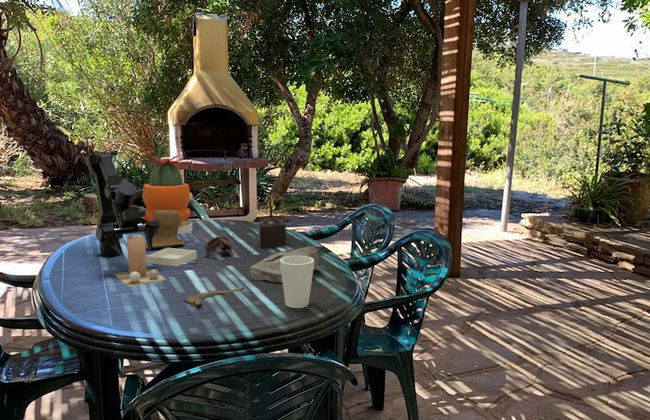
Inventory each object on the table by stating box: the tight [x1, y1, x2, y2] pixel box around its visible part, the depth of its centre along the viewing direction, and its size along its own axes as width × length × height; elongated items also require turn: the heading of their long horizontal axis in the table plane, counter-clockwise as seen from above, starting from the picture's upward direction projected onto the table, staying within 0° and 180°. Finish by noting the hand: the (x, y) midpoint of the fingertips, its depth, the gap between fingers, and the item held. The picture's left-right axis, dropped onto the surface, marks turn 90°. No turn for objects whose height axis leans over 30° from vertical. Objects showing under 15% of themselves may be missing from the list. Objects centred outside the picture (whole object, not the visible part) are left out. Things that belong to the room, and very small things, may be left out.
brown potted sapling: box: [257, 198, 287, 249], centre depth 207 cm, size 16×11×18 cm
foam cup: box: [280, 256, 315, 309], centre depth 138 cm, size 10×9×13 cm
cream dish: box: [146, 247, 198, 267], centre depth 181 cm, size 13×13×3 cm
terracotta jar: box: [126, 233, 147, 277], centre depth 162 cm, size 5×5×14 cm
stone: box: [249, 245, 320, 284], centre depth 167 cm, size 18×10×20 cm
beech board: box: [113, 267, 168, 288], centre depth 161 cm, size 16×12×1 cm
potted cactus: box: [142, 154, 193, 235], centre depth 225 cm, size 22×22×35 cm
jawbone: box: [183, 286, 245, 307], centre depth 146 cm, size 9×20×2 cm, turn 149°
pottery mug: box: [204, 235, 234, 258], centre depth 190 cm, size 12×10×8 cm
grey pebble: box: [149, 269, 160, 279], centre depth 159 cm, size 3×3×3 cm
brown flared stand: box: [145, 210, 185, 249], centre depth 201 cm, size 15×12×15 cm
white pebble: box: [129, 271, 141, 282], centre depth 156 cm, size 3×3×3 cm
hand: (136, 252), depth 162 cm, fingers open, 9 cm apart
